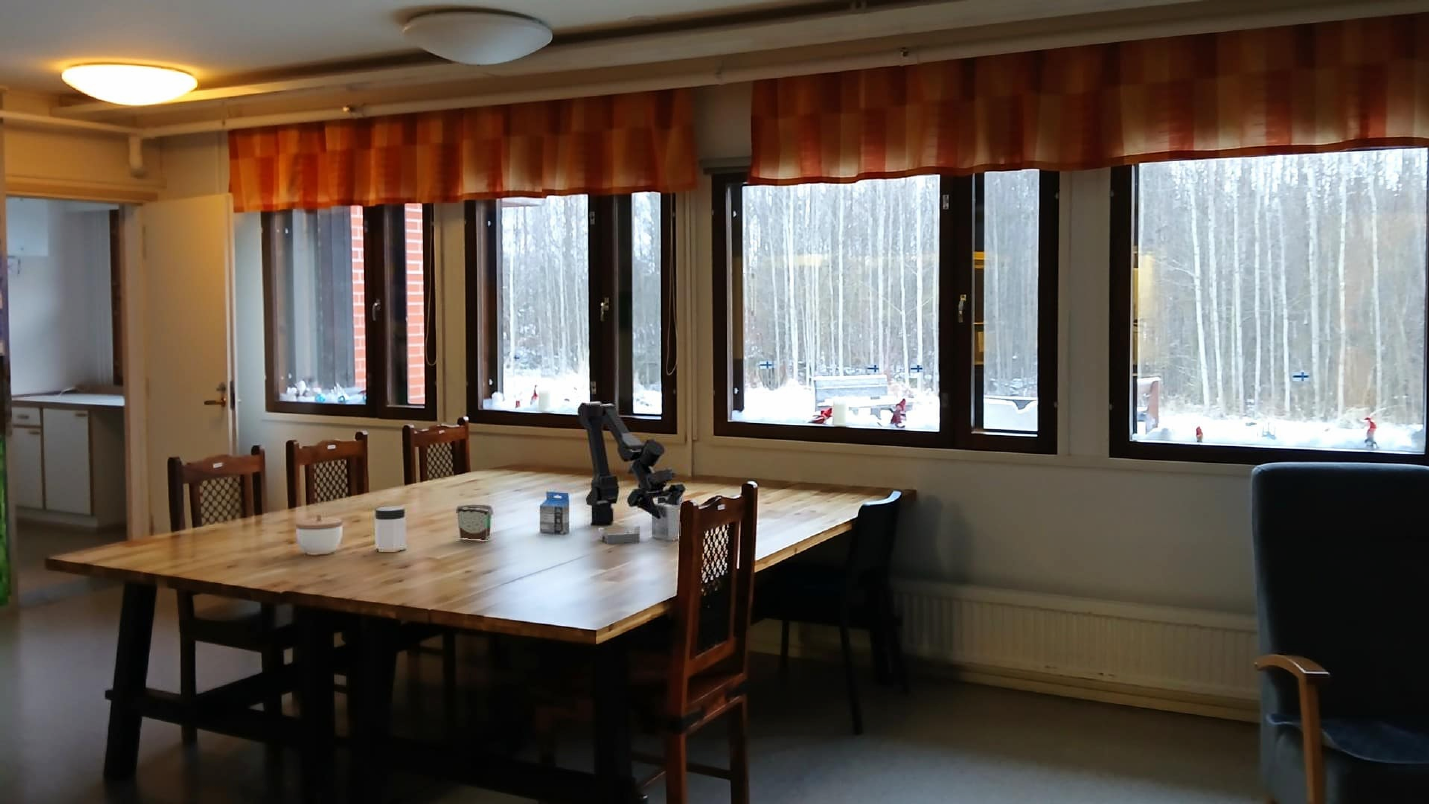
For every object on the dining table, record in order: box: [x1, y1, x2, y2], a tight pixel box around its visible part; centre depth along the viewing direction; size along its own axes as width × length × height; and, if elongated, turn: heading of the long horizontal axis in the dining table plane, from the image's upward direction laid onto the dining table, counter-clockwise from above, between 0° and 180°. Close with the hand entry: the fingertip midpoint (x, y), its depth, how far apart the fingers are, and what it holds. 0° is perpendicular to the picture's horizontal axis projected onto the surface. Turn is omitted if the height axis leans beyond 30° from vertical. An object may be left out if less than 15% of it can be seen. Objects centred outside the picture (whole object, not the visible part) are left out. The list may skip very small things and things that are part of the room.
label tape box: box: [539, 491, 570, 535], centre depth 368 cm, size 9×4×12 cm, turn 62°
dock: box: [597, 525, 641, 545], centre depth 356 cm, size 11×13×4 cm
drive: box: [651, 503, 680, 542], centre depth 357 cm, size 8×4×10 cm, turn 40°
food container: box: [455, 504, 494, 540], centre depth 357 cm, size 12×6×10 cm, turn 65°
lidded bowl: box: [295, 513, 344, 553], centre depth 338 cm, size 13×13×11 cm
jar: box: [374, 505, 407, 549], centre depth 341 cm, size 9×8×12 cm
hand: (668, 517), depth 356 cm, fingers open, 6 cm apart
